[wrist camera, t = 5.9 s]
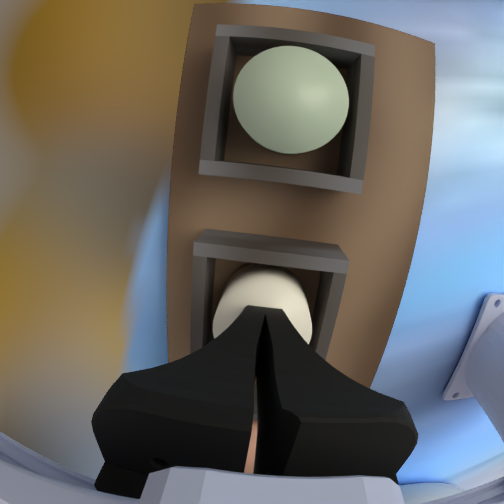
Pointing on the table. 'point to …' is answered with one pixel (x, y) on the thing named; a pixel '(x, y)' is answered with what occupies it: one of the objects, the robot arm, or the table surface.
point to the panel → (300, 181)
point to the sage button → (290, 99)
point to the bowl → (427, 492)
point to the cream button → (264, 297)
